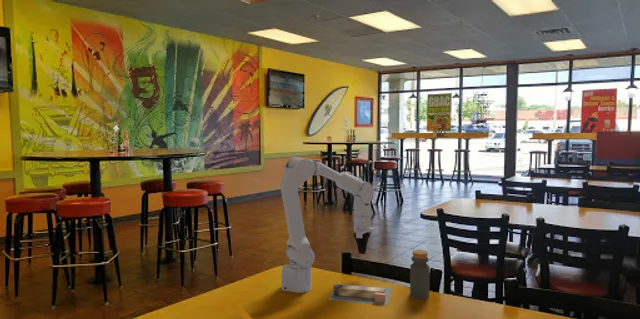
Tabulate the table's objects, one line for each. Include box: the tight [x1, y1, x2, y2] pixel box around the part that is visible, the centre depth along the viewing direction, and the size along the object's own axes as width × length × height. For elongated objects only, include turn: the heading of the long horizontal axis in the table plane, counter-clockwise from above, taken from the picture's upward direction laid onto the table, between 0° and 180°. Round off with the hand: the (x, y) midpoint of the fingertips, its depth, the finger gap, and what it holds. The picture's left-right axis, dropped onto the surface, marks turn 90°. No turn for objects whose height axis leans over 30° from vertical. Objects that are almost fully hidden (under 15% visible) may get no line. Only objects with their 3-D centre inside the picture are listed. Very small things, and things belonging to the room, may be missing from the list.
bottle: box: [409, 249, 431, 300], centre depth 136 cm, size 6×6×15 cm
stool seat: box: [328, 283, 392, 306], centre depth 138 cm, size 18×14×1 cm
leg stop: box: [375, 292, 385, 303], centre depth 132 cm, size 3×2×2 cm, turn 76°
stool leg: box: [332, 283, 385, 299], centre depth 136 cm, size 16×3×2 cm, turn 76°
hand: (362, 253), depth 153 cm, fingers closed
